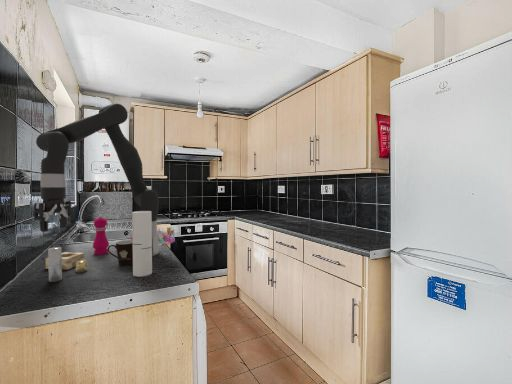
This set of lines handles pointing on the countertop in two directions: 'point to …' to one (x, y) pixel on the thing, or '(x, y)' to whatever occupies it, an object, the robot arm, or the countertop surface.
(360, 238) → the countertop surface
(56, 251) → the long pin
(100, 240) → the pepper mill
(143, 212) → the cylindrical container
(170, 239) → the candy landscape model
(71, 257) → the socket block
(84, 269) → the short pin
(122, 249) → the coffee mug
